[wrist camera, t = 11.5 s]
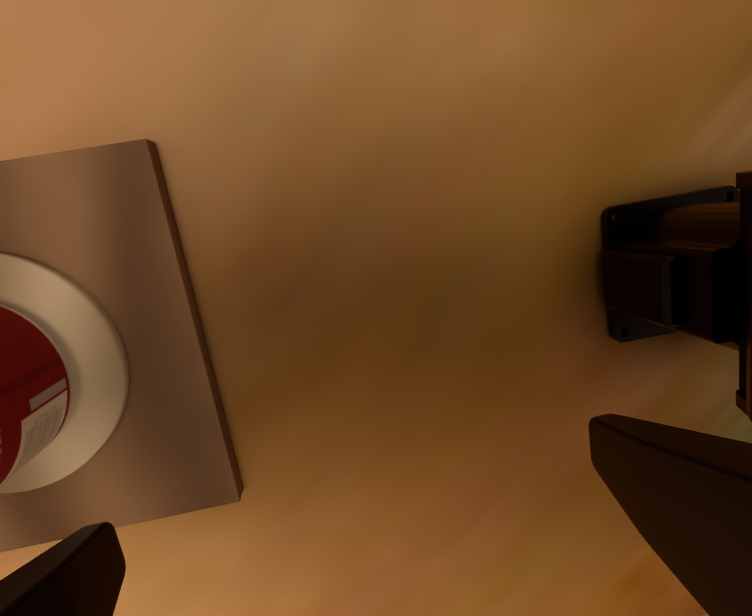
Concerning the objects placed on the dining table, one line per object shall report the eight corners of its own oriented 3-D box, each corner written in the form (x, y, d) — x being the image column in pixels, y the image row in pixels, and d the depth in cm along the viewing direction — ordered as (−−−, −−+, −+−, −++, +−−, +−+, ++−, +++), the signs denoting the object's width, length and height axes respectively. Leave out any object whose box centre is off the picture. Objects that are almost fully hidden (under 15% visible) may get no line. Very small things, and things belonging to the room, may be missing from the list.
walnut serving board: (155, 142, 19) (138, 135, 17) (243, 488, 22) (236, 512, 21) (-271, 208, 18) (-335, 207, 16) (-109, 563, 21) (-148, 594, 19)
